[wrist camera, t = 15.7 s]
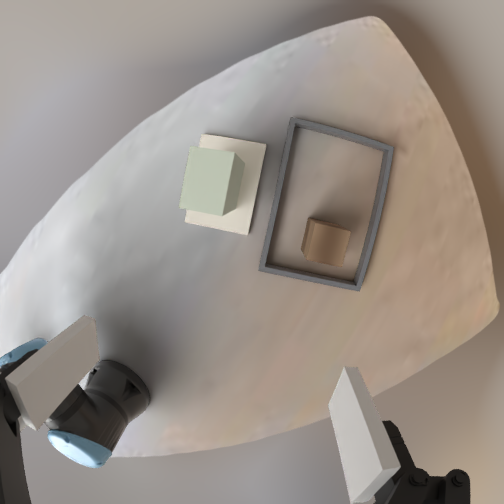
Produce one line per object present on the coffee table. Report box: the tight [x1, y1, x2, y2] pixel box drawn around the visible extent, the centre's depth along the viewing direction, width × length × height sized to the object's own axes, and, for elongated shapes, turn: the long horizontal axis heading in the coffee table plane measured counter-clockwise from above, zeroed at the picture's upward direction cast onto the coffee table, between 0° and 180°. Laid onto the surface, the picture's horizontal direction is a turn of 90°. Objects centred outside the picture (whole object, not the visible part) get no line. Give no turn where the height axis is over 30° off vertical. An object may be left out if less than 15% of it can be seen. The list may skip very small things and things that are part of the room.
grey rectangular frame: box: [258, 117, 394, 291], centre depth 40 cm, size 17×24×2 cm
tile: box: [185, 134, 267, 235], centre depth 41 cm, size 10×14×1 cm
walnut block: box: [301, 218, 351, 267], centre depth 39 cm, size 5×5×7 cm
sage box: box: [179, 146, 245, 216], centre depth 35 cm, size 5×7×12 cm
